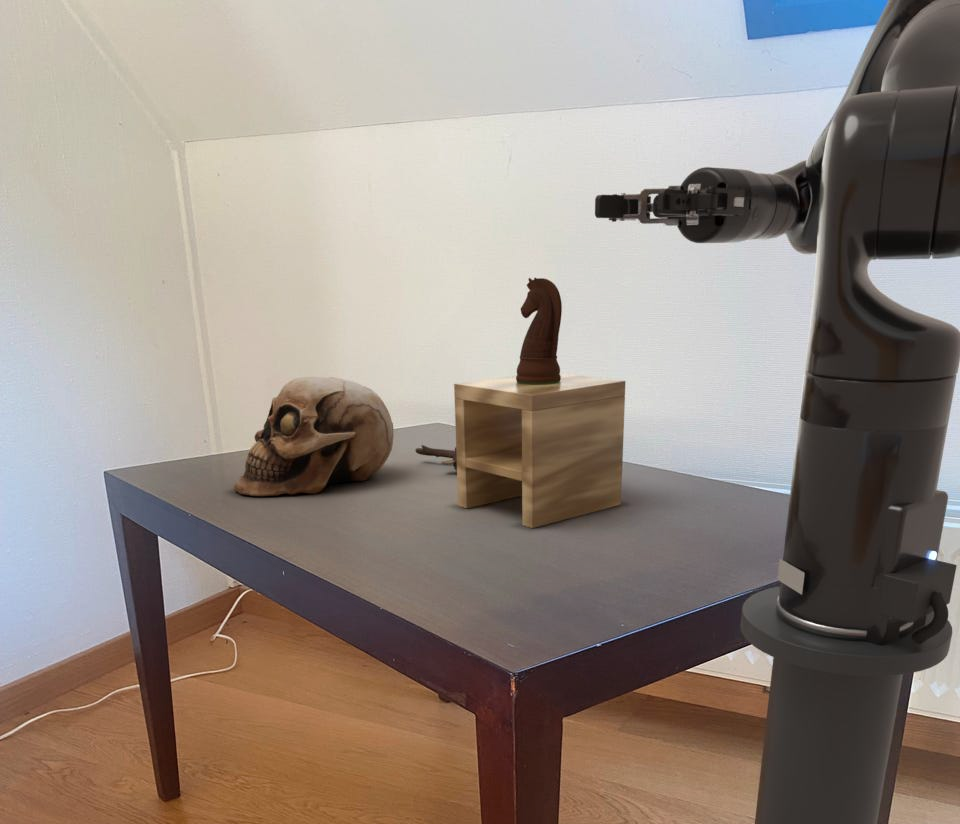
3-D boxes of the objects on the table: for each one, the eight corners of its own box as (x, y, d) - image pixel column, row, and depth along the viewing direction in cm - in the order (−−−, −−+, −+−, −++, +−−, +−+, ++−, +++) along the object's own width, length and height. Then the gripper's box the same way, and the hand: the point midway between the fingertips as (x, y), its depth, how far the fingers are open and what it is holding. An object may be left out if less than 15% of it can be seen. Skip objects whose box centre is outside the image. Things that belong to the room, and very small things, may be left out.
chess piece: (535, 377, 97) (535, 276, 93) (573, 381, 94) (575, 276, 90) (507, 382, 94) (505, 278, 90) (545, 386, 91) (545, 278, 87)
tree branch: (573, 435, 119) (519, 445, 107) (571, 468, 120) (518, 481, 108) (456, 425, 128) (395, 433, 116) (456, 456, 129) (395, 467, 117)
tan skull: (221, 492, 107) (217, 373, 103) (302, 476, 122) (301, 372, 118) (339, 507, 102) (339, 383, 97) (407, 488, 117) (410, 380, 113)
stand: (621, 504, 99) (625, 380, 93) (532, 528, 91) (532, 395, 86) (545, 485, 107) (545, 371, 102) (458, 506, 100) (453, 383, 95)
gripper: (677, 173, 106) (578, 168, 96) (785, 163, 96) (686, 156, 86) (673, 244, 109) (577, 245, 99) (777, 241, 99) (681, 242, 89)
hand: (628, 204), depth 93 cm, fingers open, 8 cm apart
